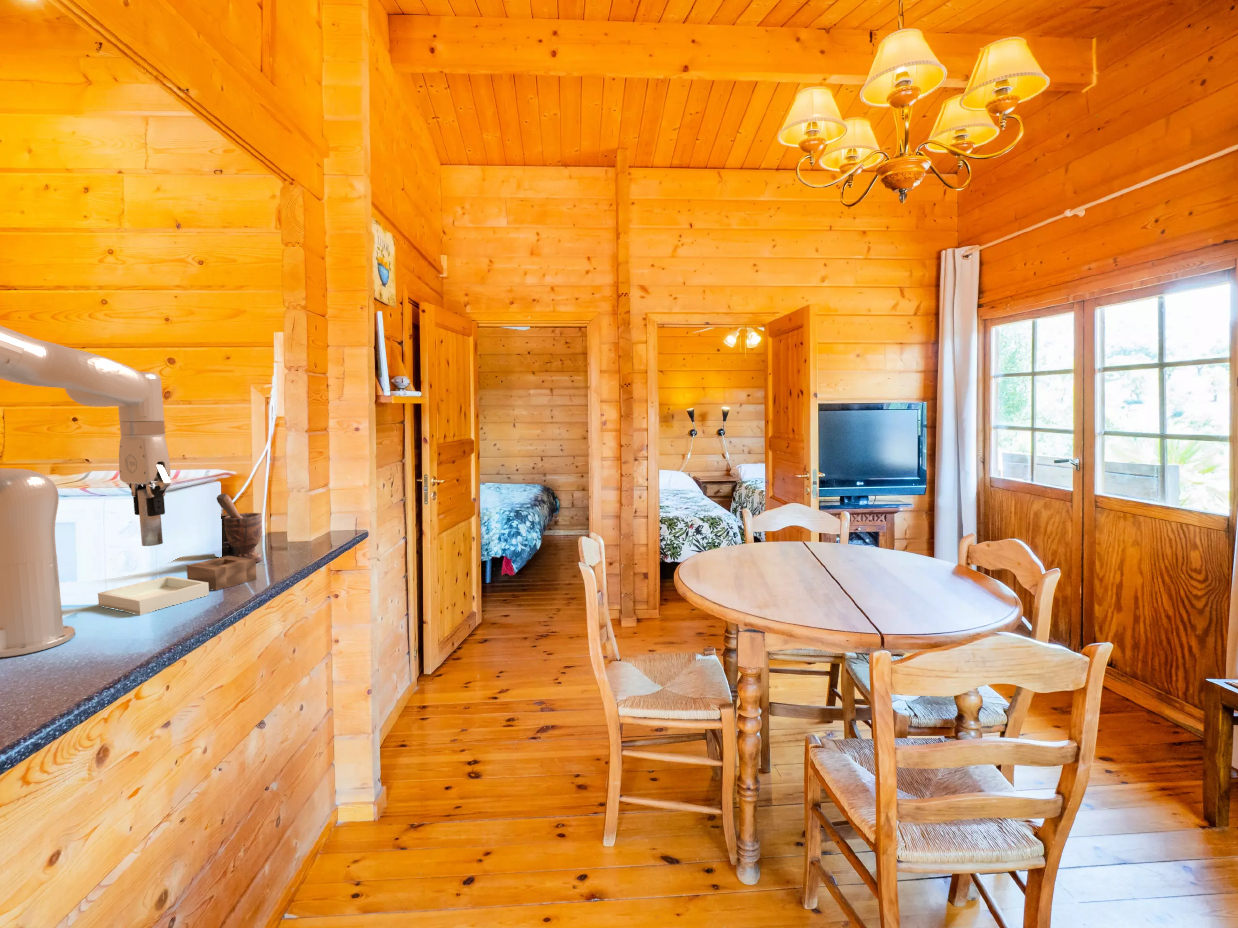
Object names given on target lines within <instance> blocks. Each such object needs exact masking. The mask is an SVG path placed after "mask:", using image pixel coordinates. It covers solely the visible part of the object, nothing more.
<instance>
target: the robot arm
mask: <svg viewBox="0 0 1238 928" xmlns="http://www.w3.org/2000/svg"><path fill="white" fill-rule="evenodd" d="M0 379H1V380H4V381H6V382H11V383H15V384H16V383H17V384H21V385H27V386H33V387H34V386H35V387H44V388H45V387H46V388H58V389H64V390H65V392H66V394H67V395H68V397H69V398H70V399H71V400H72V401H73V402H76V403H77V404H80V405H82V406H87V407H96V408H97V407H98V408H99V407H101V408H102V407H104V408H105V407H107V408H108V407H118V408H117V409H118V410H117V411H118V419H119V420H118V421H119V430H120V440H119V448H118V471H119V479H120V481H121V482H123V483H125V484H126V485H127V486H128V487H129V489H130V491H131V493H130V494H131V496H132V498H133V499H132V500H133V512H134V514H135V516H139V504H138V492H137V490H141V489H147V492H148V497H149V498H146V504H147V515H148V516H157V515H161V516H162V515H165V514H166V508H165V496H166V491H167V488H168V487H170V486H171V480H170V479H171V463H170V457H169V450H168V445H167V442H166V438H165V437H166V426H165V412H164V399H163V387H162V379H161V376H160V375H159V374H158V373H155V372H151V371H139V370H137V369H135V368H133V367H131V366H128V365H126V364H124V363H121V362H118V361H117V360H113V359H111V358H108V357H105V356H102V355H99V354H95V353H91V352H89V351H85V350H80V349H76V348H73V347H68V346H64V345H61V344H58V343H54V342H50V341H45V340H41V339H37V338H34V337H32V336H29V335H26V334H24V333H21V332H17V331H15V330H13V329H10V328H8V327H5V326H2V325H0ZM153 486H154V487H153ZM59 498H60V497H59V490H58V487H57V486H56V484H55V483H54V482H53V480H52V479H50V478H49V477H48V476H47V475H45V474H43V473H42V472H39V471H34V470H31V469H25V468H3V467H2V468H0V658H7V657H8V658H10V657H15V656H22V655H26V654H31V653H35V652H39V651H43V650H48V649H51V648H53V647H57V646H60V645H62V644H64V643H66V642H68V641H71V640H72V639H73V638H74V637H75V636H76V629H75V628H74V627H73V626H71V625H64V622H63V610H62V598H61V590H60V589H61V587H60V586H61V585H60V576H59V566H58V565H59V564H58V557H57V556H58V555H57V547H56V545H57V543H56V519H57V513H58V507H59Z"/></svg>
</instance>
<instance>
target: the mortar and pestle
mask: <svg viewBox="0 0 1238 928" xmlns="http://www.w3.org/2000/svg"><path fill="white" fill-rule="evenodd" d="M216 501H217V503H218V504H219V506H220V508H222V509H223V510H224V511H225V513H228V515H229V516H226V517H225V518H224V520H225V523H224V524H225V532H226V536H227V539H228V541H229V544H230V545H231V546H232V547H234V548H235V549H236V554H235V555H234V556H233V557H241V558H248V559H255V561H256V563H260V562H262V561H263V556H262V554H261V553H259V552H258V551H256V547H257V545H259V544H260V542H261V539H262V538H261V537H262V534H263V524H262V523H263V521H262V513H261V512H244V513H242V512H241V513H240V512H238V509H237V508H236V506H235V504H234V502H233V500H232V498H231V497H230V495H228V494H226V493H219V495H217V497H216Z"/></svg>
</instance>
